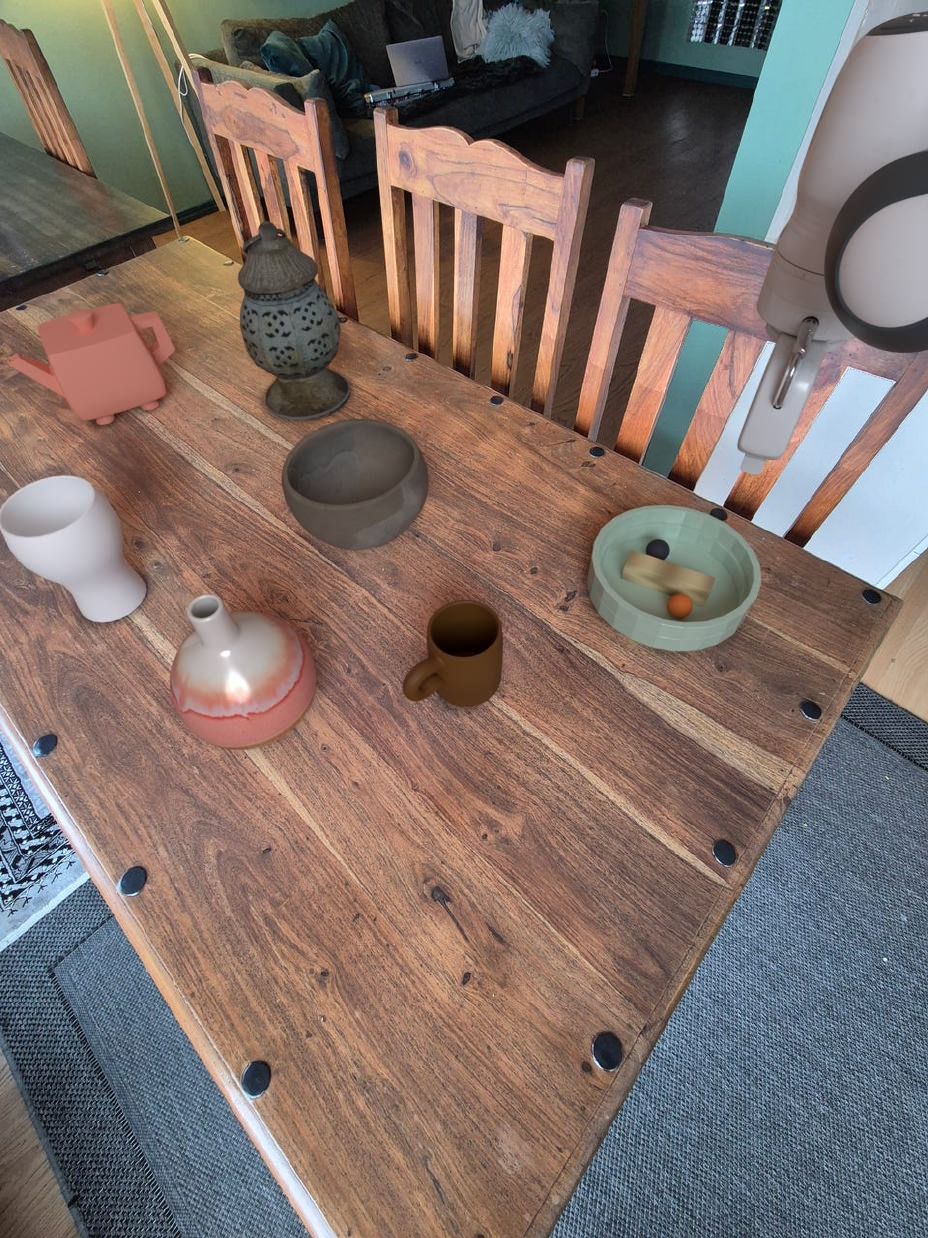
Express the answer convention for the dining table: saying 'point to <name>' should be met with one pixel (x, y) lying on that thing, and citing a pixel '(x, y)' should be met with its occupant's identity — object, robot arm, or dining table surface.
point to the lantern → (290, 327)
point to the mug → (459, 656)
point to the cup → (73, 544)
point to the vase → (240, 676)
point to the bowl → (356, 483)
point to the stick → (667, 577)
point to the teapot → (101, 361)
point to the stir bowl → (691, 546)
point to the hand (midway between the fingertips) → (762, 439)
